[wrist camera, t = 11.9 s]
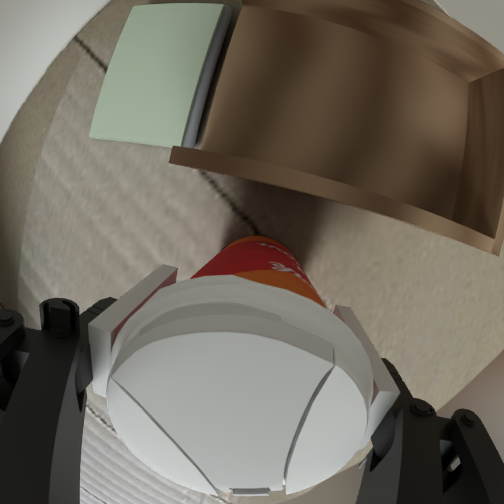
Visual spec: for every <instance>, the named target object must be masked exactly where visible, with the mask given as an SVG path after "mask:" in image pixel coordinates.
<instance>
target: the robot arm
mask: <svg viewBox="0 0 504 504" xmlns="http://www.w3.org/2000/svg"><path fill="white" fill-rule="evenodd" d="M177 270H178V268H176V267H172V266H168V265H164V264H163V265H161V266H160V267H159V268H157V269H156V270H155V271H154V272H152V273H151V274H150V275H148V276H147V277H146V278H145V279H143V280H142V281H141V282H139V283H138V284H137V285H136V286H134V287H133V288H132V289H131V290H129V291H128V292H127V293H126V294H124V295H123V296H122V297H121V298H119V299H115V298H112V297H109V298H105V299H102V300H99V301H98V302H96V303H95V304H94V305H92V307H90V308H88V309H87V311H84V312H83V313H82V314H80V315H79V306H78V305H77V304H76V303H75V302H73V301H71V300H68V299H65V298H52V299H48V300H45V301H43V302H42V303H41V304H40V305H39V307H40V318H41V327H42V329H41V331H40V330H35V329H31V328H27V327H24V321H23V317H22V315H21V314H20V313H18V312H17V311H13V310H9V309H4V310H1V311H0V504H80V461H81V446H82V435H83V425H84V416H85V408H86V401H87V392H86V387H87V386H88V385H89V384H90V382H91V381H92V383H93V391H94V393H96V394H98V395H101V396H103V397H105V398H106V388H107V381H108V376H109V373H110V358H111V352H112V347H113V345H114V343H115V340H116V338H117V335H118V333H119V332H120V330H121V329H122V327H123V326H124V324H125V323H126V322H127V320H128V319H129V318H130V317H131V316H132V315H133V314H134V313H135V312H137V311H138V310H139V309H140V308H141V307H142V306H143V305H144V304H145V303H146V302H147V301H148V300H149V299H150V298H151V297H152V296H153V295H154V294H155V293H156V292H157V291H158V290H159V289H162V288H164V287H167V286H169V285H172V284H174V283H176V277H177ZM333 313H334V314H335V315H336V316H337V317H338V318H339V319H340V320H342V321H343V322H344V323H345V324H346V325H347V326H348V327H349V328H350V329H351V330H352V332H353V333H354V334H355V335H356V337H357V338H358V339H359V340H360V342H361V344H362V346H363V348H364V350H365V352H366V354H367V356H368V358H369V360H370V364H371V368H372V373H373V396H372V401H371V406H370V409H369V420H368V425H367V429H366V433H365V436H364V438H363V440H362V442H361V444H360V446H359V448H358V450H363V448H364V447H365V446H366V444H367V443H368V442H369V440H370V439H371V441H372V444H373V448H372V449H371V450H370V452H369V453H368V454H367V456H366V457H365V458H364V459H363V461H362V462H361V463H360V465H359V467H358V469H361V468H362V466H363V465H364V464H365V469H364V473H363V478H362V482H361V486H360V490H359V494H358V497H357V501H356V504H504V463H503V461H502V459H501V457H500V455H499V453H498V451H497V449H496V447H495V445H494V443H493V442H492V440H491V438H490V436H489V434H488V432H487V430H486V429H485V427H484V425H483V423H482V421H481V420H480V419H479V417H478V416H477V415H476V414H475V413H474V412H472V411H470V410H468V409H458V410H456V411H455V412H454V414H453V415H452V417H451V418H450V419H448V418H443V417H438V416H437V415H436V412H435V409H434V408H433V407H432V406H431V405H430V404H428V403H427V402H426V401H423V400H421V399H417V398H413V396H412V395H411V393H410V391H409V390H408V388H407V386H406V385H405V383H404V381H402V378H401V376H400V375H398V372H397V370H396V368H395V367H394V365H393V364H391V363H390V362H389V361H388V360H387V359H386V358H380V356H379V354H378V352H377V351H376V349H375V347H374V346H373V344H372V342H371V341H370V339H369V337H368V336H367V334H366V332H365V331H364V329H363V327H362V326H361V324H360V323H359V321H358V319H357V318H356V316H355V314H354V313H353V311H352V310H351V308H349V307H345V306H340V305H336V306H335V309H334V312H333ZM458 457H459V459H460V462H461V463H460V464H459V465H458V466H457V468H456V469H455V470H452V469H451V467H450V466H451V464H452V463H453V462H454V461H455V460H456V459H457V458H458Z"/></svg>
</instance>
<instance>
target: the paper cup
mask: <svg viewBox="0 0 504 504" xmlns="http://www.w3.org/2000/svg"><path fill="white" fill-rule="evenodd" d="M372 396H373V373H372V368H371V364H370V360H369V358H368V356H367V354H366V352H365V350H364V348H363V346H362V344H361V342H360V340H359V339H358V338H357V337H356V335H355V334H354V333H353V332H352V330H351V329H350V328H349V327H348V326H347V325H346V324H345V323H344V322H343V321H342V320H340V319H339V318H338V317H337V316H336V315H335V314H334V313H332V312H331V311H329V310H328V309H327V308H326V307H325V305H324V303H323V302H322V300H321V298H320V297H319V295H318V294H317V292H316V290H315V289H314V287H313V285H312V284H311V282H310V281H309V279H308V277H307V276H306V274H305V273H304V271H303V269H302V268H301V266H300V265H299V263H298V262H297V260H296V259H295V257H294V256H293V255H292V253H291V252H290V251H289V250H288V249H287V248H286V247H285V246H284V245H283V244H281V243H280V242H278V241H276V240H274V239H272V238H269V237H265V236H247V237H244V238H241V239H238V240H236V241H234V242H233V243H231V244H230V245H228V246H227V247H226V248H224V249H223V250H222V251H221V252H220V253H218V254H217V255H216V256H215V257H214V258H213V259H211V260H210V261H209V262H208V263H207V264H206V265H205V266H203V267H202V268H201V269H200V270H199V271H198V272H197V273H196V274H195V275H193V276H192V277H191V278H190V279H189V280H184V281H180V282H177V283H174V284H172V285H169V286H167V287H164V288H162V289H159V290H158V291H157V292H156V293H155V294H154V295H153V296H152V297H151V298H150V299H149V300H148V301H147V302H146V303H145V304H144V305H143V306H142V307H141V308H140V309H139V310H138V311H137V312H135V313H134V314H133V315H132V316H131V317H130V318H129V319H128V320H127V322H126V323H125V324H124V326H123V327H122V329H121V330H120V332H119V333H118V335H117V338H116V340H115V343H114V345H113V347H112V352H111V358H110V373H109V376H108V381H107V388H106V399H107V409H108V412H109V416H110V419H111V422H112V424H113V426H114V428H115V430H116V432H117V434H118V435H119V437H120V438H121V440H122V441H123V442H124V444H125V445H126V446H127V447H128V449H129V450H130V451H131V452H132V453H133V454H134V455H135V456H136V457H137V458H138V459H139V460H141V461H142V462H143V463H144V464H145V465H147V466H148V467H149V468H151V469H152V470H154V471H155V472H157V473H158V474H160V475H162V476H163V477H165V478H167V479H169V480H171V481H173V482H175V483H177V484H180V485H182V486H184V487H187V488H189V489H193V490H196V491H199V492H202V493H206V494H211V495H216V496H218V495H219V494H220V491H226V492H233V495H234V496H262V495H270V492H269V491H276V490H283V485H285V484H286V495H287V494H291V493H295V492H298V491H301V490H304V489H306V488H309V487H312V486H314V485H316V484H318V483H320V482H322V481H324V480H326V479H327V478H329V477H330V476H332V475H333V474H335V473H336V472H337V471H339V470H340V469H341V468H342V467H343V466H344V465H345V464H346V463H348V462H349V461H350V459H351V458H352V457H353V455H354V454H355V453H356V451H357V450H358V448H359V446H360V444H361V442H362V440H363V438H364V436H365V433H366V429H367V425H368V420H369V409H370V406H371V401H372ZM232 488H233V489H232Z"/></svg>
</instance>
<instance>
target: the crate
mask: <svg viewBox="0 0 504 504" xmlns="http://www.w3.org/2000/svg"><path fill="white" fill-rule="evenodd" d="M242 4H243V6H242V8H241V11H240V14H239V17H238V20H237V23H236V26H235V29H234V32H233V35H232V38H231V41H230V44H229V47H228V51H227V54H226V57H225V60H224V64H223V67H222V70H221V74H220V77H219V81H218V84H217V88H216V91H215V95H214V99H213V102H212V106H211V110H210V114H209V118H208V121H207V125H206V129H205V134H204V138H203V142H202V146H201V150H199V149H193V148H187V147H180V146H174V145H173V146H172V151H171V155H170V160H169V163H171V164H176V165H181V166H185V167H190V168H194V169H199V170H203V171H208V172H213V173H218V174H223V175H228V176H233V177H238V178H242V179H247V180H251V181H256V182H260V183H264V184H269V185H273V186H277V187H281V188H285V189H289V190H293V191H297V192H301V193H305V194H309V195H313V196H317V197H320V198H324V199H328V200H331V201H335V202H339V203H342V204H346V205H349V206H353V207H356V208H359V209H363V210H366V211H369V212H373V213H376V214H379V215H382V216H386V217H389V218H392V219H395V220H398V221H401V222H404V223H407V224H410V225H413V226H416V227H419V228H422V229H425V230H428V231H431V232H433V233H436V234H439V235H442V236H445V237H447V238H450V239H453V240H456V241H459V242H462V243H464V244H467V245H470V246H472V247H475V248H478V249H480V250H483V251H486V252H488V253H491V254H493V255H496V256H498V257H499V254H500V250H501V246H502V242H503V238H504V54H503V53H502V52H500V51H499V50H498V49H497V48H495V47H494V46H493V45H491V44H490V43H489V42H487V41H486V40H484V39H483V38H482V37H480V36H478V35H477V34H476V33H474V32H473V31H471V30H470V29H468V28H467V27H465V26H464V25H462V24H461V23H459V22H457V21H456V20H454V19H452V18H451V17H449V16H447V15H445V14H444V13H442V12H440V11H438V10H436V9H435V8H433V7H431V6H429V5H427V4H425V3H423V2H421V1H419V0H242Z"/></svg>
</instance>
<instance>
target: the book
mask: <svg viewBox="0 0 504 504" xmlns="http://www.w3.org/2000/svg"><path fill="white" fill-rule="evenodd" d="M233 12H234V7H232V6H229V5H226V6H224V4H210V3H167V4H150V5H139V6H133V9H132V11H131V13H130V15H129V17H128V19H127V21H126V24H125V26H124V28H123V31H122V33H121V35H120V38H119V40H118V43H117V45H116V48H115V51H114V53H113V56H112V59H111V61H110V64H109V67H108V70H107V73H106V76H105V79H104V82H103V85H102V88H101V92H100V95H99V98H98V102H97V106H96V109H95V113H94V117H93V121H92V125H91V129H90V133H89V137H92V138H97V139H102V140H113V141H122V142H131V143H139V144H147V145H154V146H161V147H168V148H172V146H173V145H174V146H180V147H187V148H193V149H194V145H195V141H196V137H197V133H198V129H199V125H200V121H201V117H202V113H203V109H204V105H205V102H206V98H207V94H208V91H209V87H210V84H211V80H212V77H213V73H214V70H215V67H216V63H217V60H218V57H219V54H220V51H221V47H222V44H223V41H224V38H225V35H226V32H227V29H228V26H229V24H230V21H231V18H232V15H233Z"/></svg>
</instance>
